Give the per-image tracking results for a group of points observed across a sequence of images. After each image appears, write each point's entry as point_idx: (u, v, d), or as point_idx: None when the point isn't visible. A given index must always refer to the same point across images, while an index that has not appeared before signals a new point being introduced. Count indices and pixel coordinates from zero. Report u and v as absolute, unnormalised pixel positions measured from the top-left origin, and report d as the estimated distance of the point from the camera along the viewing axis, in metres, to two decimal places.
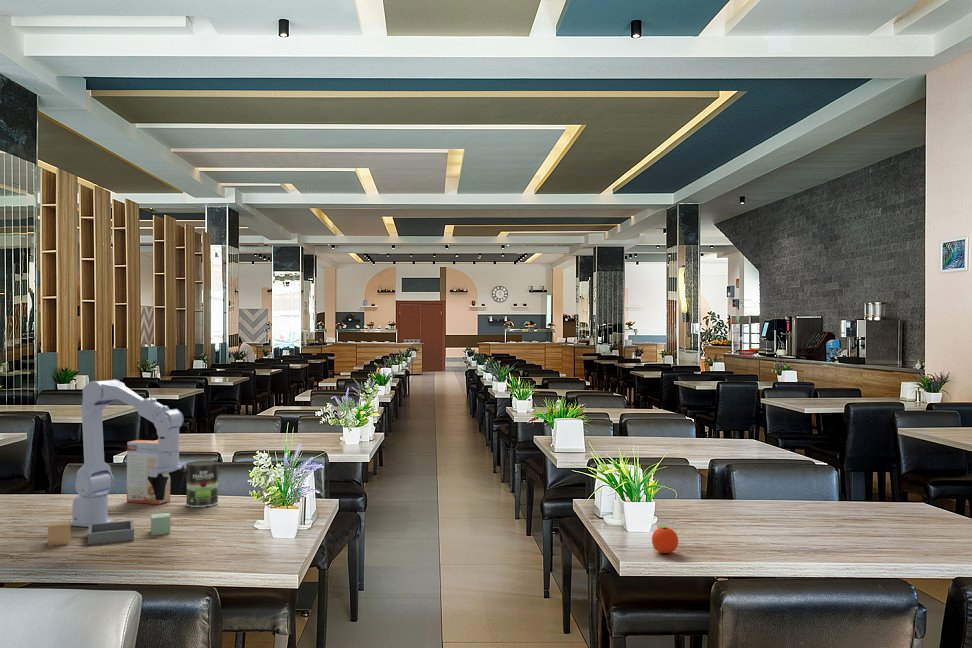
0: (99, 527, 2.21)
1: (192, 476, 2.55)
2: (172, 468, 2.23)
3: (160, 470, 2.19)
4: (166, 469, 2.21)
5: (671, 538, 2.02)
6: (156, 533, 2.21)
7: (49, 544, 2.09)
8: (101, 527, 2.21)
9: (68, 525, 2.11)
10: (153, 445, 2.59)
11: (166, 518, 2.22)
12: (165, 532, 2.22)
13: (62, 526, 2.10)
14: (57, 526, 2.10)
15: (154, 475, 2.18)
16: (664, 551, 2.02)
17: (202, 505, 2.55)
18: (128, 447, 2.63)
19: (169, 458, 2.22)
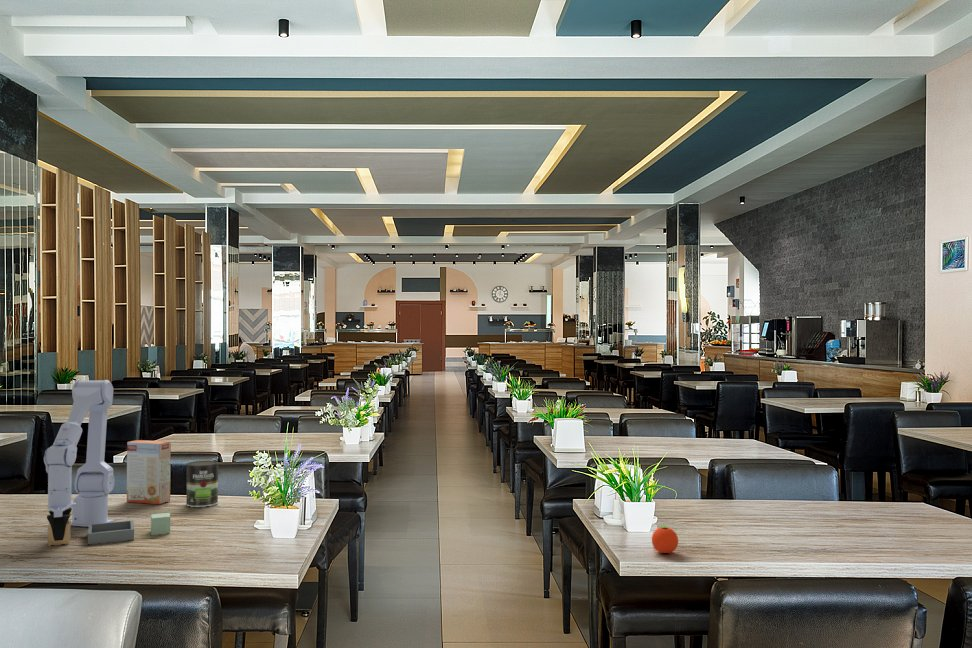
0: (99, 527, 2.21)
1: (192, 476, 2.55)
2: (70, 506, 2.12)
3: (63, 509, 2.08)
4: (66, 507, 2.10)
5: (671, 538, 2.02)
6: (156, 533, 2.21)
7: (49, 544, 2.09)
8: (101, 527, 2.21)
9: (68, 525, 2.11)
10: (153, 445, 2.59)
11: (166, 518, 2.22)
12: (165, 532, 2.22)
13: None
14: None
15: (61, 515, 2.06)
16: (664, 551, 2.02)
17: (202, 505, 2.55)
18: (128, 447, 2.63)
19: (67, 496, 2.11)
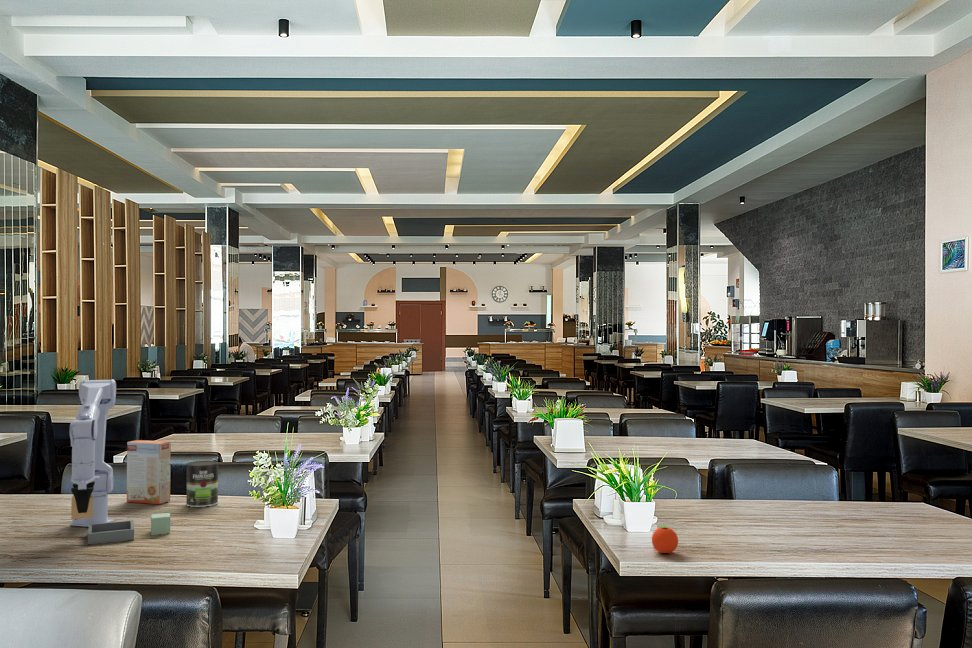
0: (99, 527, 2.21)
1: (192, 476, 2.55)
2: (93, 479, 2.14)
3: (87, 481, 2.11)
4: (90, 480, 2.12)
5: (671, 538, 2.02)
6: (156, 533, 2.21)
7: (72, 517, 2.11)
8: (101, 527, 2.21)
9: (91, 498, 2.13)
10: (153, 445, 2.59)
11: (166, 518, 2.22)
12: (165, 532, 2.22)
13: None
14: None
15: (85, 487, 2.09)
16: (664, 551, 2.02)
17: (202, 505, 2.55)
18: (128, 447, 2.63)
19: (90, 469, 2.14)
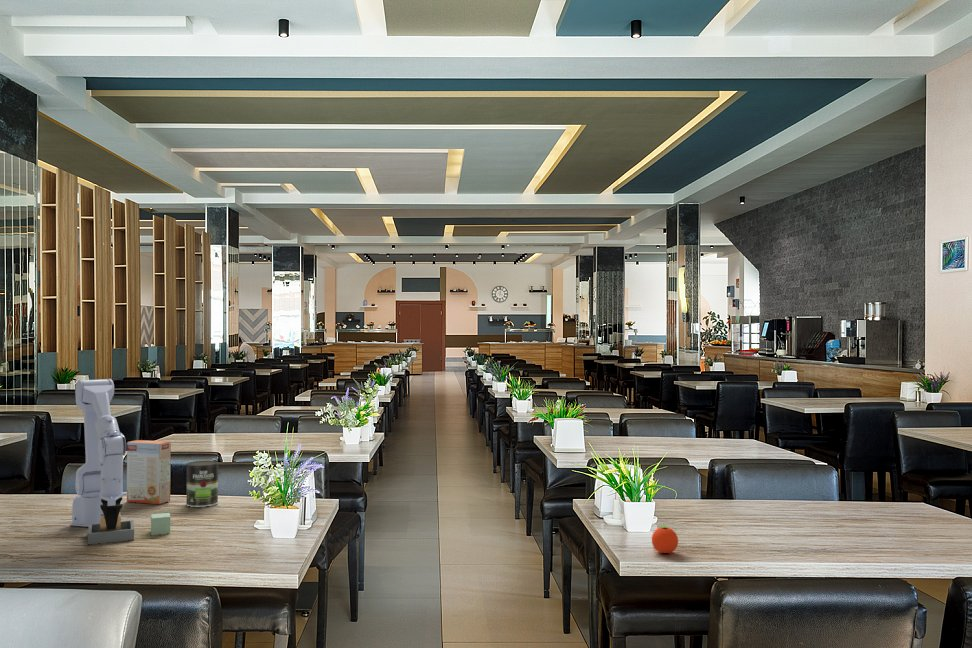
0: (99, 527, 2.21)
1: (192, 476, 2.55)
2: (121, 495, 2.18)
3: (116, 498, 2.14)
4: (119, 496, 2.16)
5: (671, 538, 2.02)
6: (156, 533, 2.21)
7: None
8: None
9: (119, 517, 2.17)
10: (153, 445, 2.59)
11: (166, 518, 2.22)
12: (165, 532, 2.22)
13: None
14: None
15: (114, 503, 2.12)
16: (664, 551, 2.02)
17: (202, 505, 2.55)
18: (128, 447, 2.63)
19: (119, 485, 2.17)
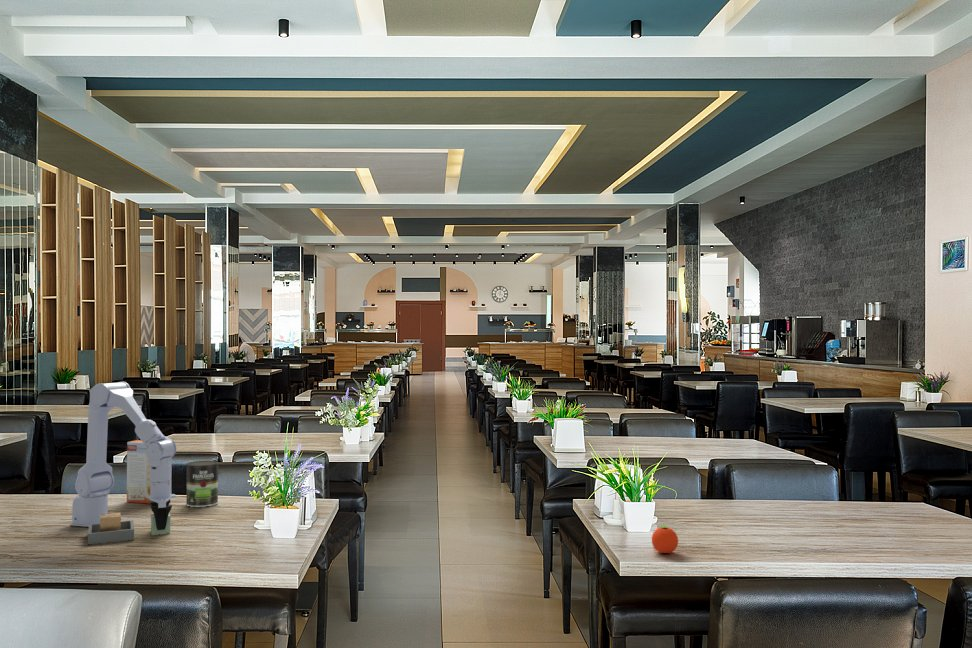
0: (99, 527, 2.21)
1: (192, 476, 2.55)
2: (170, 497, 2.23)
3: (166, 500, 2.19)
4: (168, 498, 2.21)
5: (671, 538, 2.02)
6: (156, 533, 2.21)
7: None
8: None
9: (119, 517, 2.17)
10: None
11: None
12: (165, 532, 2.22)
13: (113, 518, 2.16)
14: (109, 518, 2.15)
15: (164, 505, 2.17)
16: (664, 551, 2.02)
17: (202, 505, 2.55)
18: (128, 447, 2.63)
19: (168, 488, 2.23)
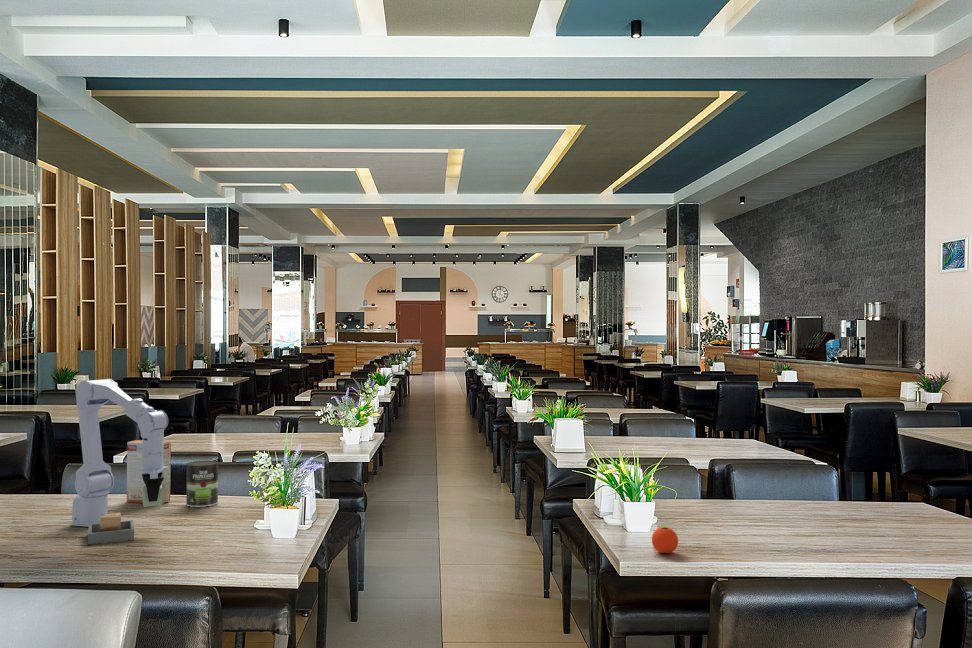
0: (99, 527, 2.21)
1: (192, 476, 2.55)
2: (162, 469, 2.22)
3: (158, 471, 2.19)
4: (160, 470, 2.20)
5: (671, 538, 2.02)
6: (148, 504, 2.20)
7: None
8: None
9: (119, 517, 2.17)
10: None
11: None
12: (157, 503, 2.21)
13: (113, 518, 2.16)
14: (109, 518, 2.15)
15: (156, 476, 2.17)
16: (664, 551, 2.02)
17: (202, 505, 2.55)
18: (128, 447, 2.63)
19: (160, 459, 2.22)
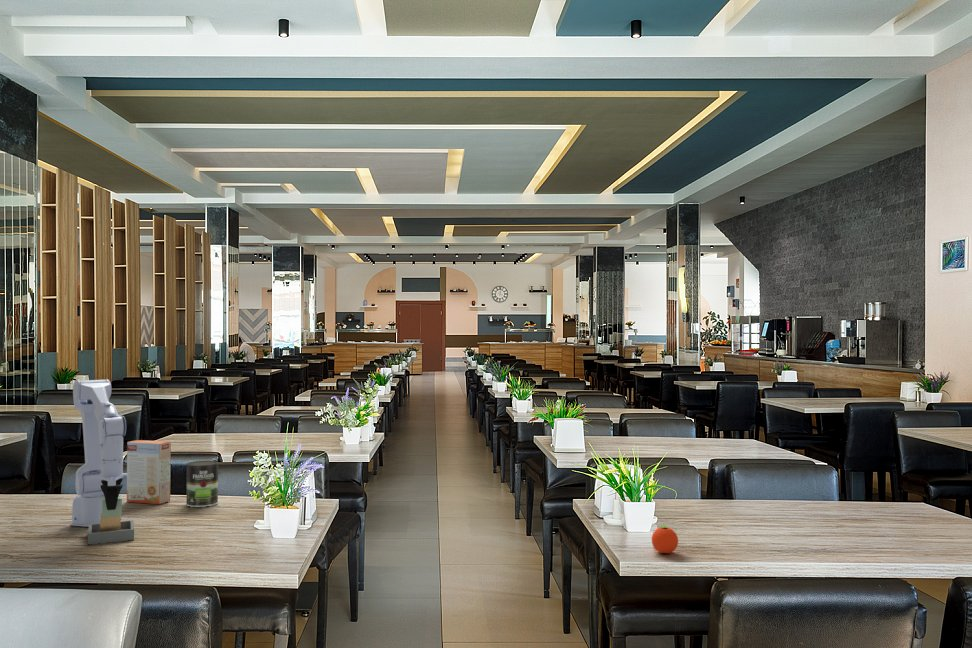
0: (99, 527, 2.21)
1: (192, 476, 2.55)
2: (121, 475, 2.18)
3: (116, 478, 2.14)
4: (119, 477, 2.16)
5: (671, 538, 2.02)
6: (107, 515, 2.15)
7: None
8: None
9: (119, 517, 2.17)
10: (153, 445, 2.59)
11: None
12: (116, 514, 2.16)
13: (113, 518, 2.16)
14: (109, 518, 2.15)
15: (114, 484, 2.12)
16: (664, 551, 2.02)
17: (202, 505, 2.55)
18: (128, 447, 2.63)
19: (119, 466, 2.17)
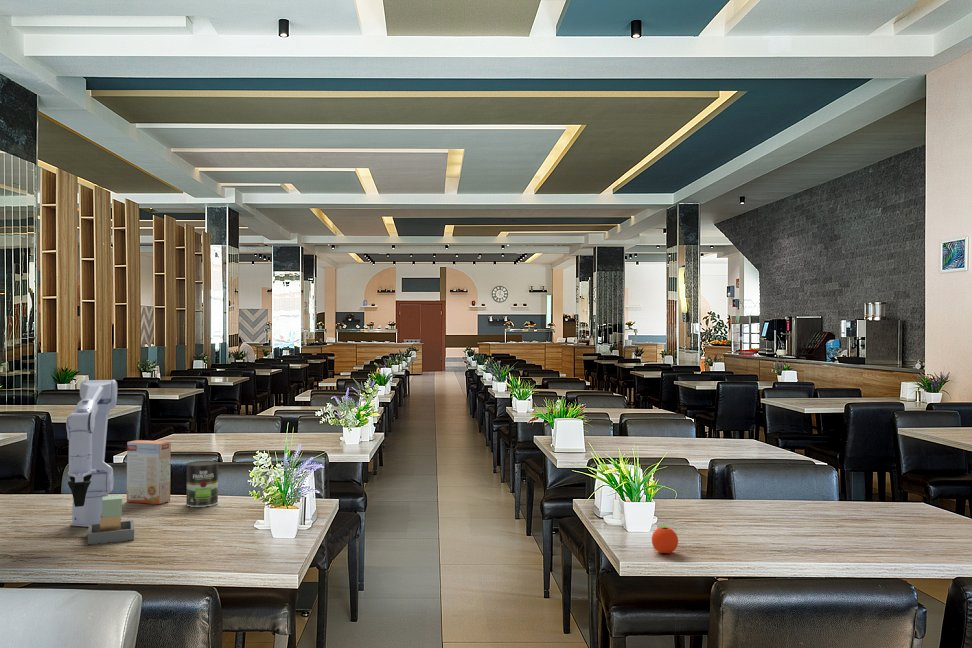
0: (99, 527, 2.21)
1: (192, 476, 2.55)
2: (90, 472, 2.14)
3: (84, 474, 2.10)
4: (87, 473, 2.12)
5: (671, 538, 2.02)
6: (107, 515, 2.15)
7: None
8: None
9: (119, 517, 2.17)
10: (153, 445, 2.59)
11: (117, 500, 2.16)
12: (116, 514, 2.16)
13: (113, 518, 2.16)
14: (109, 518, 2.15)
15: (82, 480, 2.08)
16: (664, 551, 2.02)
17: (202, 505, 2.55)
18: (128, 447, 2.63)
19: (87, 462, 2.14)
